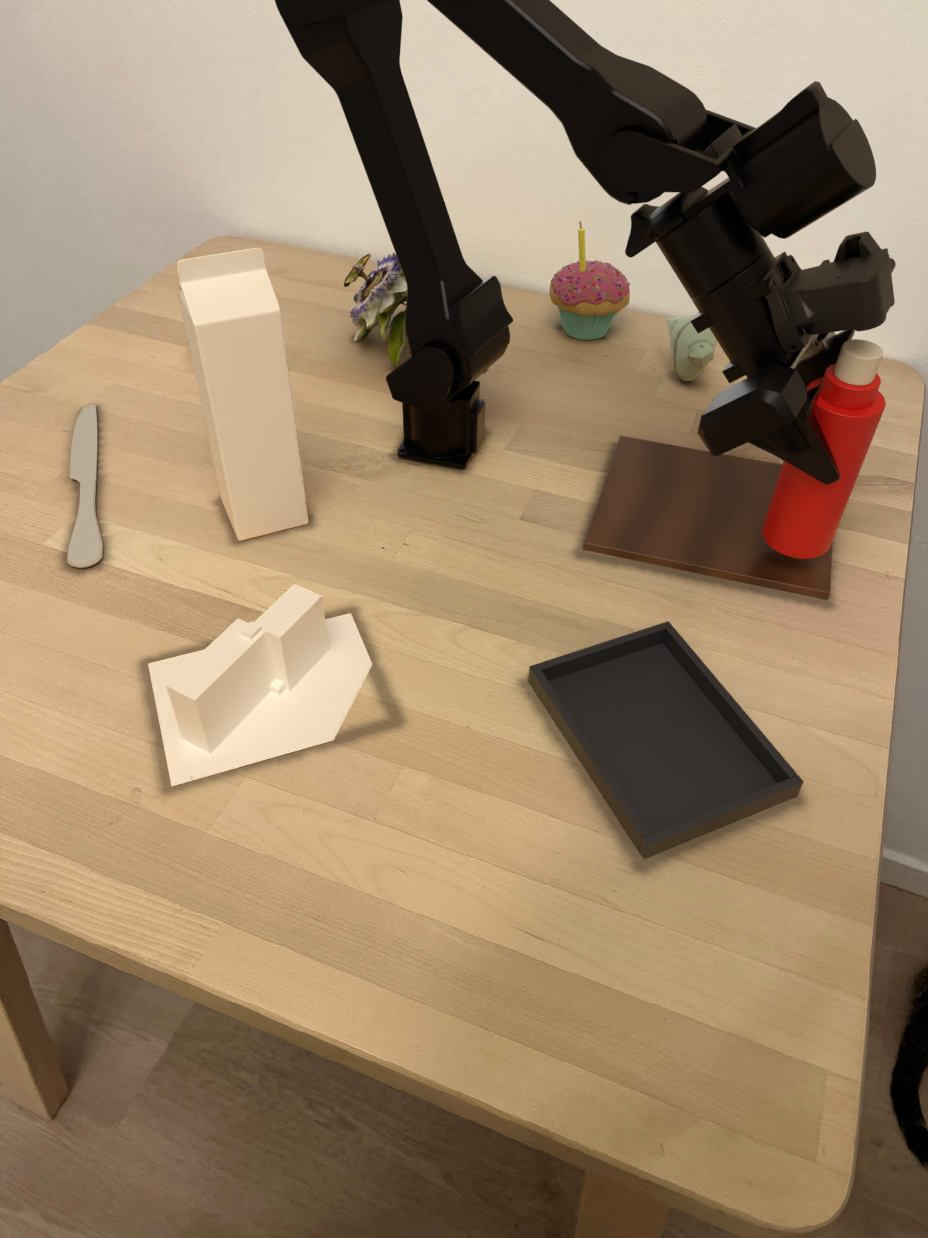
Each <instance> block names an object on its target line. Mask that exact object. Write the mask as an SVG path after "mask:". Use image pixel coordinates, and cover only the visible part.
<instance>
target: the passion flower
mask: <svg viewBox="0 0 928 1238" xmlns="http://www.w3.org/2000/svg"><path fill="white" fill-rule="evenodd" d="M370 258H371V253H369V252H368V253H367V254H365V255H364V256H362V257H361V258H360V259H359V260H358V261H357V262H356V264H354V265H352V268H351V270H350V271H349V272H348V274H347V275H346V277H345V278H344V282H343V287H344V288H347V287H349V286H350V285H351V284H352V283H354V282H357V279H358V278H362V279H363V280H364V282H363V285H361V286H360V287H359V290H358V292H357V293H355V294H354V295H353V302H354V303H355V305H354V307H353V308H352V309H351V310H350V311H349V314H350V315H349V317H350V318H352V322H351V324H354V325H355V326H357V327H358V330H357V331H356V333H355V336H354V338H353V341H354V342H355V343H359V342H362V341H363V340H365V339H366V338H368V337H369V335H370V334H371V331H372V329H374V328H376V327H377V326H379V334H380V336H381V339H383V340H386V339H387V348H388V358H389V361H390V364H391V365H393V366H394V367H396V368H397V367H399V366H400V365H401V364H402V361H403V358H404V355H405V352H406V349H407V336H406V331H405V315H406V308H405V309H404V310H402V311H401V310H400V311H399V312H398V313H396V314H395V315H394V313H395V311H396V310H397V308H398V307H399V306H400V305H402V306H405V307H406V302H407V284H406V280H405V277H404V274H403V272H402V269H401V266H400V264H399V261H398V258H397V255H396V253H395V252H392V254H388V255H387V256H383V258H382V260H381V261H380V260H378V259H377V260H376V262H377V264H376V268H374V270H370V272H369V273H368V274H366V273H365V272H364V270H365V268H366V265H367V262H368V261H370ZM393 315H394V316H393ZM388 329H389V333H388V337H387V332H388Z"/></svg>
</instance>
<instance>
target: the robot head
mask: <svg viewBox="0 0 928 1238" xmlns="http://www.w3.org/2000/svg"><path fill="white" fill-rule="evenodd" d="M695 315H696V314H692V315H690V316H687V317H686V316H685V317H684V316H675V317H669V318H665V322H666V325H667V331H668V334H669V342H670V343H669V344H670V355H671V364H672V368H673V369H674V371H675V372H676V374H677V376H678V378H680V379H681V380H683V381H689V382H690V381H693V380H695V379H696V378H697V377H699V376H700V375H701V373H703V371H704V370H705V369H706V368H707V367H708V365H709V363H711V362H712V361H713V360H714V359H715V349H716V347H717V344H718V341H717V340H716V338H715V336H714V335H713V333H712V332H711V330H710V328H707V329H706V330H704V331H702V332H700V333H699V334H698V333H697V331H696V330H695V328H694V327H693V325H692V323H691V322H690V321H691V320H692V319H693V318H694V316H695Z"/></svg>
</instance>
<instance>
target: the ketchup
mask: <svg viewBox="0 0 928 1238" xmlns="http://www.w3.org/2000/svg"><path fill="white" fill-rule="evenodd" d="M883 356H884V350H883V349H882V347H881V346H880V345H878V344H877V343H876V342H875V343H874V342H872V341H869V340H865V339H858V338H857V339H853V338H852V340H848V341H846V342H844V344H843V345H842V348H841V351H840V354H839V356H838V359H837V362H836V364H833V365H830V366H829V367H828V368H827V369H826V371H825V374H824V377H822V378H818V379H816V380H814V381H812V382H811V383H810V384H809V385H808V387H807V390H809V389H811V388H814V387H816V386H818V385H820V384H822V389H821V392H820V395H819V398H818V401H817V404H816V408H815V416H816V418H817V421H818V423H819V425H820V427H821V430H822V432H823V434H824V436H825V439H826V441H827V443H828V445H829V448H830V450H831V452H832V455H833V457H834V459H835V462H836V465H837V467H838V470H839V473H840V479H839V480H838V481H836V482H833V483H831V484H824V483H822V482H820V481H818V480H817V479H815V478H813V477H812V476H810V475H808V474H806V473H805V472H803V471H801V470H799V469H798V468H796V467H794V466H792V465H791V464H789V463H787V462H786V461H784V460H782V463H781V464H782V468H781V471H780V474H779V477H778V480H777V483H776V486H775V489H774V492H773V496H772V499H771V502H770V505H769V508H768V511H767V514H766V517H765V520H764V524H763V527H762V536H763V538H764V540H765V541H766V543H767V544H768V545H769V546H770V547H771V548H773V549H774V550H776V551H777V552H779V553H781V554H783V555H786V556H789V557H793V558H799V559H811V558H816V557H819V556H821V555H823V554H825V553H826V552H827V551H828V550H829V548H830V545H831V543H832V544H833V540H834V538H835V535H836V534H837V533H836V532H837V530H838V528H839V525H840V522H841V520H842V518H843V515H844V512H845V511H846V507H847V506H848V503H849V500H850V497H851V495H852V493H853V490H854V487H855V485H856V482H857V480H858V477H859V474H860V472H861V470H862V467H863V464H864V462H865V459H866V456H867V455H868V452H869V449H870V446H871V444H872V443H873V442H872V441H873V439H874V436H875V434H876V431H877V429H878V427H879V423H880V421H881V419H882V417H883V414H884V412H885V408H886V404H887V403H886V402H887V401H886V398H885V396H884V395H883V393H881V391H880V387H881V384H882V379H881V377H880V376H879V374H878V373H877V372H878V370H879V366H880V364H881V361H882V360H883ZM807 390H806V391H807Z"/></svg>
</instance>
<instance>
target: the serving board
mask: <svg viewBox="0 0 928 1238" xmlns="http://www.w3.org/2000/svg"><path fill="white" fill-rule="evenodd" d="M782 464H783V463H776V462H771V461H765V460H760V459H759V460H758V459H754V458H748V457H743V456H736V455H732V454H731V455H730V454H725V453H723V454H721V455H718V456H712V455H711V453H710V452H709V450H703V449H697V448H691V447H687V446H682V445H675V444H670V443H665V442H659V441H653V440H648V439H642V438H636V437H630V436H625V435H619V436H618V440H617V442H616V446H615V448H614V452H613V455H612V457H611V461H610V463H609V466H608V469H607V472H606V475H605V478H604V481H603V483H602V487H601V490H600V493H599V496H598V499H597V502H596V505H595V507H594V511H593V513H592V516H591V519H590V523H589V526H588V528H587V531H586V535H585V536H584V540H583V544H582V551H586V552H590V553H591V552H592V553H595V554H600V555H606V556H611V557H616V558H620V559H626V560H629V561H635V562H639V563H644V564H649V565H654V566H660V567H663V568H669V569H674V570H679V571H683V572H688V573H692V574H693V573H694V574H698V575H703V576H707V577H712V578H718V579H722V580H727V581H732V582H737V583H740V584H741V583H742V584H746V585H751V586H755V587H762V588H766V589H769V590H776V591H780V592H785V593H789V594H795V595H800V596H805V597H810V598H814V599H819V600H824V601H828V600H829V597H830V596H831V586H832V585H831V581H832V559H833V542H832V543H831V545H830V548H829V550H828V551H827V552H826V553H825V554H823V555H821V556H819V557H816V558H811V559H799V558H793V557H789V556H786V555H783V554H781V553H779V552H777V551H776V550H774V549H773V548H771V547H770V546H769V545H768V544H767V543H766V541H765V540H764V538H763V536H762V527H763V524H764V520H765V517H766V514H767V511H768V508H769V505H770V502H771V499H772V496H773V492H774V489H775V486H776V483H777V480H778V477H779V474H780V471H781V468H782Z"/></svg>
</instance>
